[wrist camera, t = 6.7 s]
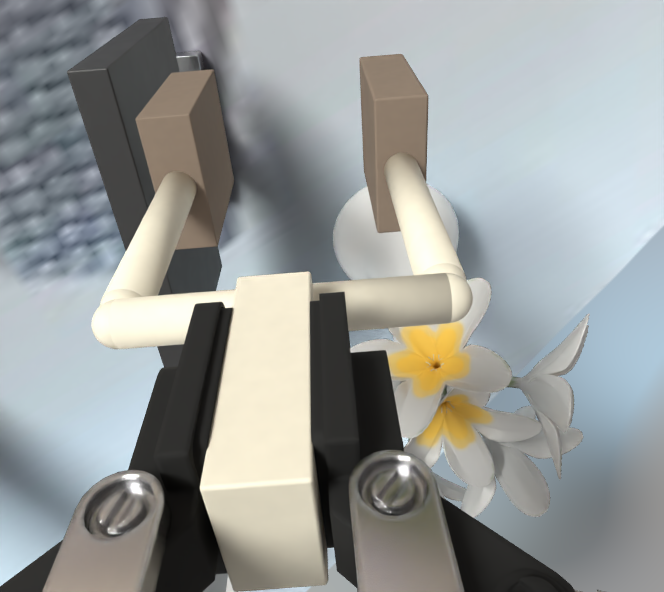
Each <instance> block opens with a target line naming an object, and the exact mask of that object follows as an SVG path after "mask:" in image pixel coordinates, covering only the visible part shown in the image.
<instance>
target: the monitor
mask: <svg viewBox="0 0 664 592" xmlns="http://www.w3.org/2000/svg"><path fill="white" fill-rule="evenodd" d="M200 70H205V69H204V64H203V59H202V54H201V51H193V52H180V53H175V48H174V44H173V39H172V35H171V30H170V25H169V21H168V18H167V17H162V18H150V19H140V20H138V21H137V22H135V23H134V24H132V25H131V26H130V27H128V28H127V29H126V30H124V31H123V32H121V33H120V34H119V35H117V36H116V37H114V38H113V39H112V40H110V41H109V42H107V43H106V44H105V45H103V46H102V47H100V48H99V49H98V50H96V51H95V52H94V53H92V54H91V55H89V56H88V57H87V58H85V59H84V60H82V61H81V62H80V63H78V64H77V65H75V66H74V67H73V68H71V69H70V70H68V71H67V73H68V76H69V79H70V82H71V86H72V89H73V92H74V95H75V98H76V101H77V104H78V107H79V110H80V113H81V116H82V119H83V122H84V125H85V128H86V131H87V134H88V137H89V140H90V143H91V146H92V149H93V152H94V155H95V158H96V162H97V165H98V168H99V171H100V174H101V177H102V180H103V183H104V186H105V189H106V192H107V195H108V198H109V201H110V204H111V207H112V210H113V213H114V216H115V219H116V222H117V225H118V228H119V231H120V234H121V237H122V241H123V244H124V247H125V250H126V251H127V249H128V247H129V245H130V243H131V241H132V239H133V237H134V235H135V233H136V231H137V229H138V227H139V225H140V223H141V221H142V219H143V217H144V215H145V214H146V212H147V210H148V208H149V206H150V204H151V202H152V200H153V198H154V196H155V190H154V186H153V183H152V179H151V175H150V172H149V168H148V164H147V161H146V157H145V153H144V149H143V146H142V142H141V138H140V135H139V131H138V127H137V124H136V117H137V116H138V115H139V114H140V112H141V111H142V110H143V108H144V107H145V106H146V105H147V103H148V102H149V101H150V99H151V98H152V97H153V96H154V94H155V93H156V92H157V90H158V89H159V88H160V87H161V85H162V84H163V83H164V82H165V80H166V79H167V78H168V76H169V75H170V74H171V73H176V72H188V71H200ZM221 268H222V264H221V259H220V255H219V250H218V246H217V247H205V248H192V249H180V250H175V251H174V254H173V256H172V259H171V262H170V264H169V267H168V270H167V272H166V275H165V278H164V280H163V283H162V286H161V288H160V291H159V294H158V296H159V295H172V294H184V293H197V292H209V291H216V288H217V284H218V280H219V276H220V272H221ZM183 345H184V344H180V345H167V346H157V347H158V350H159V353H160V356H161V359H162V362H163V365H164V368H165V367H177V366H178V364H179V360H180V356H181V353H182V349H183Z"/></svg>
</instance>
